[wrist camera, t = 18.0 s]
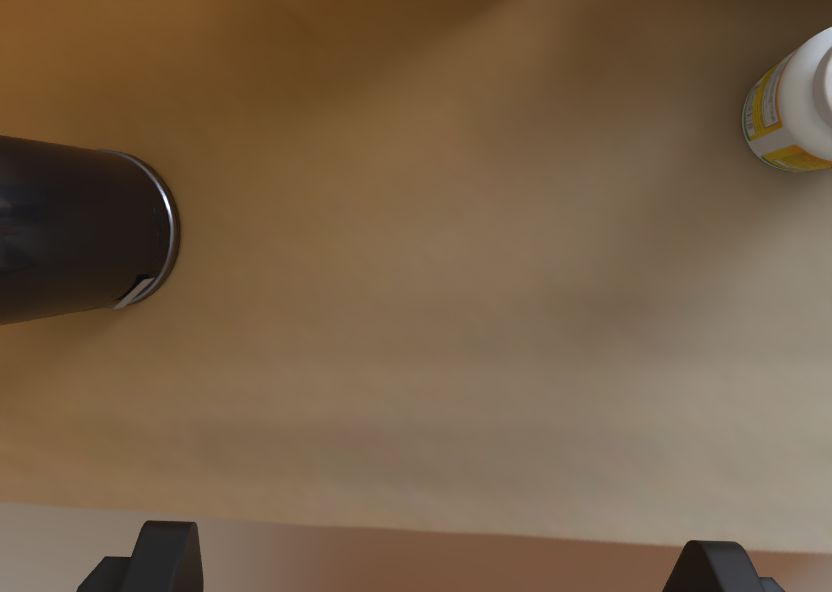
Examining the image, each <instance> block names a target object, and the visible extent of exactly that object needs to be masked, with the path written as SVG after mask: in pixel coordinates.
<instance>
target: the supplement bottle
mask: <svg viewBox="0 0 832 592" xmlns="http://www.w3.org/2000/svg"><path fill="white" fill-rule="evenodd" d="M742 128H743V132H744V136H745V138H746V141H747V143H748V145H749V146H750V148H751V150H752V151H753V152H754V153H755V154H756V155H757V156H758V157H759V158H760V159H761V160H762V161H764V162H765V163H767V164H769V165H771V166H773V167H776V168H778V169H782V170H786V171H793V172H807V171H814V170H820V169H824V168H829V167H832V27H830V28H828V29H826V30H824V31H822V32H820V33H818V34H817V35H815V36H814V37H812V38H811V39H809V40H808V41H807V42H805V43H804V44H803V45H801V46H800V47H799V48H798V49H796V50H795V51H794V52H792V53H791V54H790V55H788V56H787V57H786V58H784V59H783V60H782V61H780V62H779V63H778V64H777V65H775V66H774V67H773V68H771V69H770V70H769V71H767V72H766V73H765V74H764V75H763V76H762V77H761V78H760V79H759V80H758V81H757V82H756V83H755V85H754V86H753V87H752V89H751V90H750V92H749V94H748V96H747V98H746V101H745V104H744V108H743V113H742Z"/></svg>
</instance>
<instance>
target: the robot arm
mask: <svg viewBox="0 0 832 592" xmlns="http://www.w3.org/2000/svg"><path fill="white" fill-rule="evenodd" d="M179 241H180V225H179V217H178V212H177V208H176V205H175V202H174V199H173V197H172V195H171V193H170V191H169V189H168V187H167V186H166V184H165V183H164V181H163V180H162V179H161V177H160V176H159V175H158V174H157V173H156V172H155V171H154V170H153V169H152V168H151V167H150V166H149V165H147V164H146V163H144V162H143V161H141V160H140V159H138V158H136V157H134V156H131V155H129V154H126V153H122V152H116V151H110V150H92V149H85V148H79V147H74V146H68V145H61V144H55V143H48V142H42V141H35V140H28V139H22V138H15V137H9V136H2V135H0V326H1V325H7V324H13V323H18V322H24V321H30V320H35V319H41V318H47V317H52V316H58V315H64V314H69V313H75V312H82V311H88V310H93V309H99V308H113V307H114V308H113V309H118V308H123V307H124V306H126V305H130V304H134V303H136V302H139V301H141V300H143V299H145V298H147V297H148V296H150V295H151V294H152V293H154V292H155V291H156V290H157V289H158V288H159V287H160V286H161V285H162V284H163V282H164V281H165V280H166V278H167V277H168V275H169V274H170V272H171V270H172V268H173V265H174V263H175V260H176V257H177V253H178V248H179ZM113 309H112V310H113ZM77 592H203V571H202V562H201V554H200V546H199V536H198V528H197V524H196V523H195V522H182V521H146V522H145V523H144V525H143V527H142V529H141V531H140V533H139V537H138V539H137V542H136V545H135V548H134V550H133V553H132V556H131V557H108V556H107V557H104V558H103V560H102V561H101V562H100V563H99V564H98V565H97V567H96V568H95V569H94V570H93V571H92V572H91V573H90V574H89V575H88V577H87V578H86V579H85V580H84V581H83V582H82V584H81V585H80V586H79V587H78V589H77ZM662 592H785V591H784V590H783V589H782V588H781V587H780V586H779V585H778V584H777V583H776V582H775V580H774V579H773V578H772V577H759V576H758V574H757V572H756V570H755V568H754V566H753V564H752V562H751V560H750V558H749V556H748V554H747V553H746V551H745V550H744V548H743V547H742V546H741V545H740V544H738V543H737V542H730V541H700V540H691V541H689V542H687V543H686V545H685V546H684V548H683V550H682V553H681V554H680V557H679V559H678V561H677V563H676V565H675V567H674V569H673V571H672V573H671V575H670V577H669V579H668V581H667V583H666V585H665V587H664V589H663V591H662Z"/></svg>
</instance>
